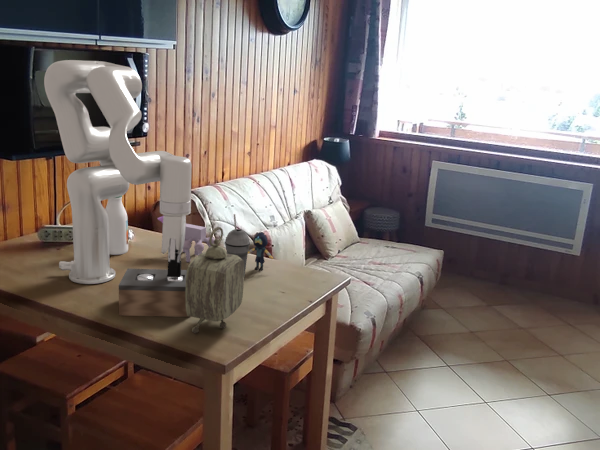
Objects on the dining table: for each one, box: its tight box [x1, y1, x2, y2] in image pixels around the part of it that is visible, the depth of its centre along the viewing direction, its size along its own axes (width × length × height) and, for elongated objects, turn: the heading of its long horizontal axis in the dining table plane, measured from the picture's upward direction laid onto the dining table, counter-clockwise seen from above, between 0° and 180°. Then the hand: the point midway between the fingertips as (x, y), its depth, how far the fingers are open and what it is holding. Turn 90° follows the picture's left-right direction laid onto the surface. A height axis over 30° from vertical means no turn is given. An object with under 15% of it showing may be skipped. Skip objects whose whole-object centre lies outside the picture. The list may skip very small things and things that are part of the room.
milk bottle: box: [104, 195, 129, 256], centre depth 194 cm, size 8×8×20 cm
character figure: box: [247, 232, 274, 272], centre depth 187 cm, size 9×4×12 cm, turn 67°
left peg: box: [137, 274, 153, 281], centre depth 156 cm, size 4×4×8 cm
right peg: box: [167, 275, 183, 281], centre depth 156 cm, size 4×4×8 cm
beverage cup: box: [224, 213, 251, 277], centre depth 176 cm, size 7×7×20 cm
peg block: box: [118, 267, 190, 318], centre depth 156 cm, size 18×12×8 cm
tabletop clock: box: [185, 226, 245, 334], centre depth 144 cm, size 14×9×25 cm, turn 163°
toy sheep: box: [157, 215, 216, 263], centre depth 194 cm, size 20×11×14 cm, turn 66°
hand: (174, 275), depth 155 cm, fingers closed
